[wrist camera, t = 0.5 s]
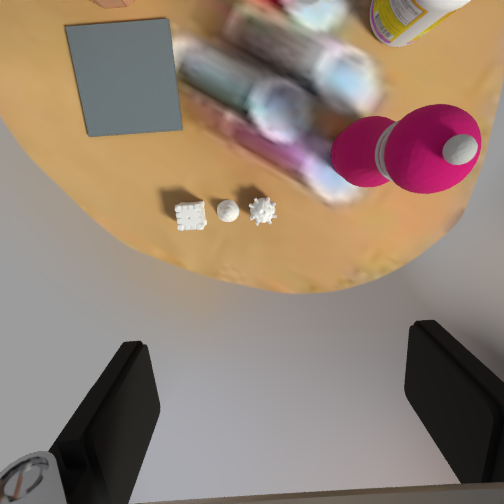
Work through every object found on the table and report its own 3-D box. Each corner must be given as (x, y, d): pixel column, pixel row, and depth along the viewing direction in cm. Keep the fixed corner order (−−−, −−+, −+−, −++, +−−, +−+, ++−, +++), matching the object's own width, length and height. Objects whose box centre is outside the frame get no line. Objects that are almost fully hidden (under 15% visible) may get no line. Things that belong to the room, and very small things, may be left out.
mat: (67, 28, 33) (65, 26, 33) (169, 20, 33) (167, 18, 32) (90, 136, 36) (88, 136, 36) (182, 130, 36) (181, 129, 36)
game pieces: (184, 226, 40) (178, 232, 37) (180, 201, 39) (173, 204, 36) (276, 219, 39) (277, 225, 36) (274, 194, 38) (276, 197, 35)
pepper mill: (380, 185, 38) (511, 214, 19) (322, 182, 38) (395, 207, 19) (391, 123, 36) (552, 84, 17) (330, 118, 36) (422, 75, 17)
